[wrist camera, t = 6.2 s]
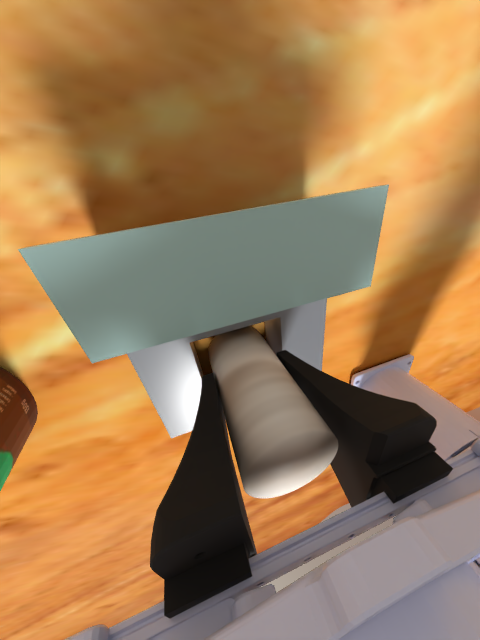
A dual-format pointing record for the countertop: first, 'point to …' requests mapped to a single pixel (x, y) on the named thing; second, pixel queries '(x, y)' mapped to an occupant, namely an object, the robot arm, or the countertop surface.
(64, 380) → the countertop surface
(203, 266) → the socket block
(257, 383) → the peg
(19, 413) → the food container
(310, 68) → the countertop surface
